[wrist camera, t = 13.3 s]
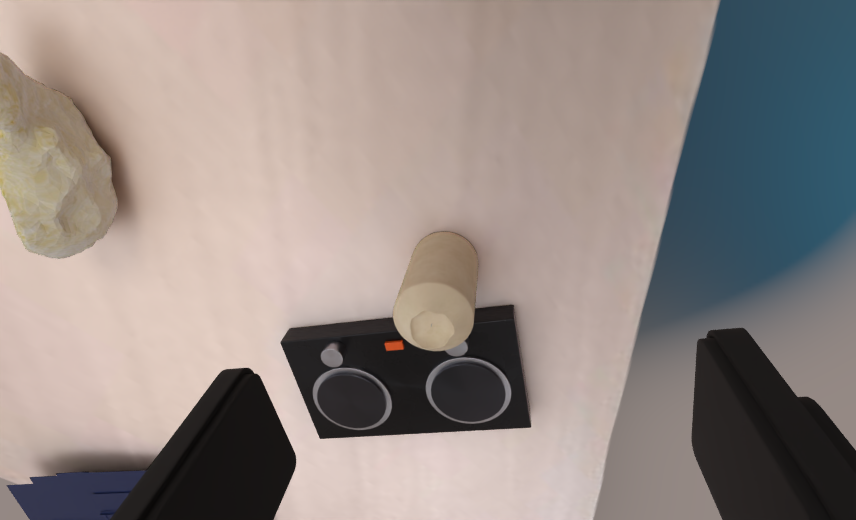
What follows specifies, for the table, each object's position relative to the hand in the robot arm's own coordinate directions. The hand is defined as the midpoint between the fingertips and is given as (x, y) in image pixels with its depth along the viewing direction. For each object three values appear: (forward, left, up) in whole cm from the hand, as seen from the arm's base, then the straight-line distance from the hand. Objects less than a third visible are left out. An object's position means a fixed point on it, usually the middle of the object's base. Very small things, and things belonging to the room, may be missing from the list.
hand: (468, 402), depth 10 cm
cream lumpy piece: (-6, -34, -28) cm, 44 cm away
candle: (+10, -5, -28) cm, 30 cm away
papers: (+42, -48, -28) cm, 69 cm away
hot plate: (+21, -11, -28) cm, 36 cm away
